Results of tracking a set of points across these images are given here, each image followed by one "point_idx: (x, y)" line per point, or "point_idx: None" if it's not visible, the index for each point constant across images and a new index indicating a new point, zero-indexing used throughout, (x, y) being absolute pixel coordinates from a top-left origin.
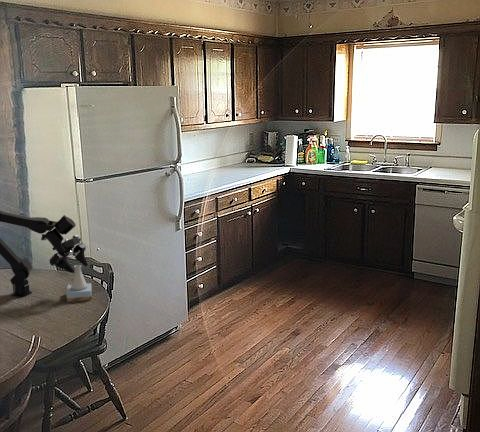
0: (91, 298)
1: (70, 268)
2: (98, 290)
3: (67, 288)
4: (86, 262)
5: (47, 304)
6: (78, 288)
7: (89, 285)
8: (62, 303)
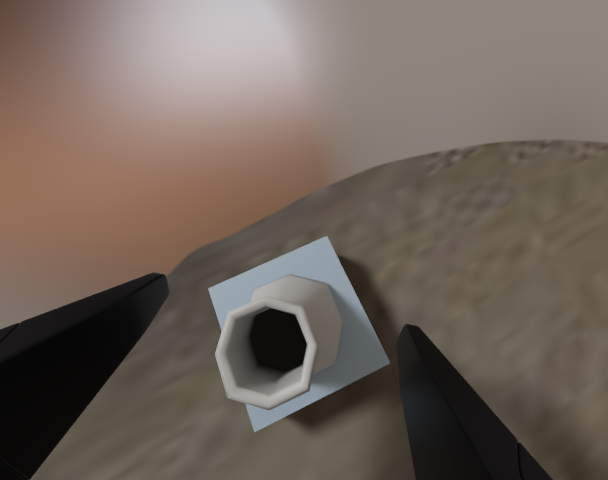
0: None
1: (459, 376)
2: (209, 267)
3: (318, 397)
4: (125, 287)
5: None
6: (334, 305)
7: (248, 279)
8: None
